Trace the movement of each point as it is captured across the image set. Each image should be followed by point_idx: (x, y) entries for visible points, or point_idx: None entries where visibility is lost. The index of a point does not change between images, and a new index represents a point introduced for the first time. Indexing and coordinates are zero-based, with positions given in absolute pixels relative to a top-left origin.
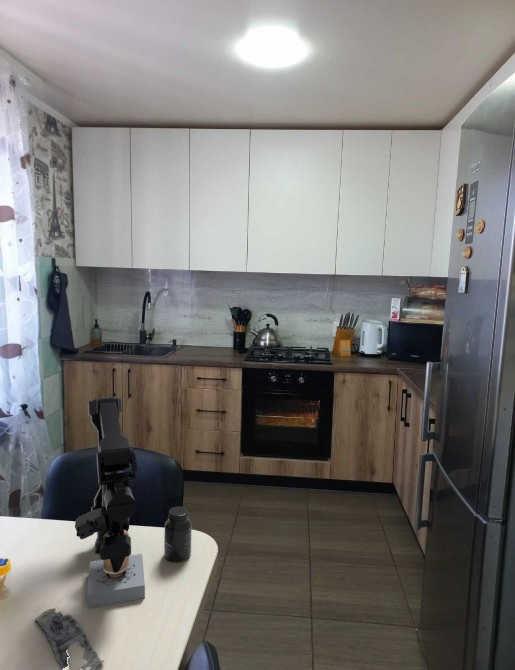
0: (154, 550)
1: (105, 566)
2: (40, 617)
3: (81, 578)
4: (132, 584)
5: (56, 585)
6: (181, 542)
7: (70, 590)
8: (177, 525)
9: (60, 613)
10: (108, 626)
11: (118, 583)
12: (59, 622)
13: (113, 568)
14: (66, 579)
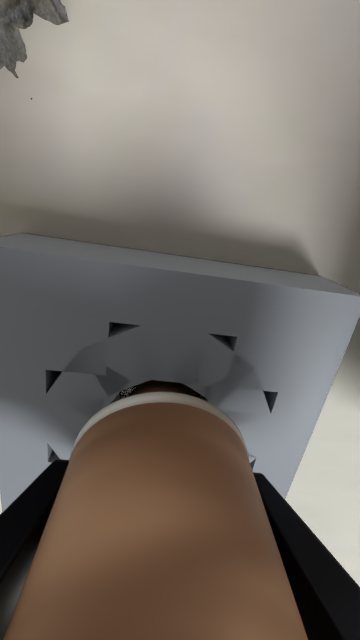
0: (323, 523)
1: (112, 435)
2: None
3: (302, 224)
4: (22, 484)
5: (318, 48)
6: None
7: (219, 148)
8: None
9: (7, 59)
10: None
11: (50, 429)
12: None
13: (19, 500)
14: (344, 129)
